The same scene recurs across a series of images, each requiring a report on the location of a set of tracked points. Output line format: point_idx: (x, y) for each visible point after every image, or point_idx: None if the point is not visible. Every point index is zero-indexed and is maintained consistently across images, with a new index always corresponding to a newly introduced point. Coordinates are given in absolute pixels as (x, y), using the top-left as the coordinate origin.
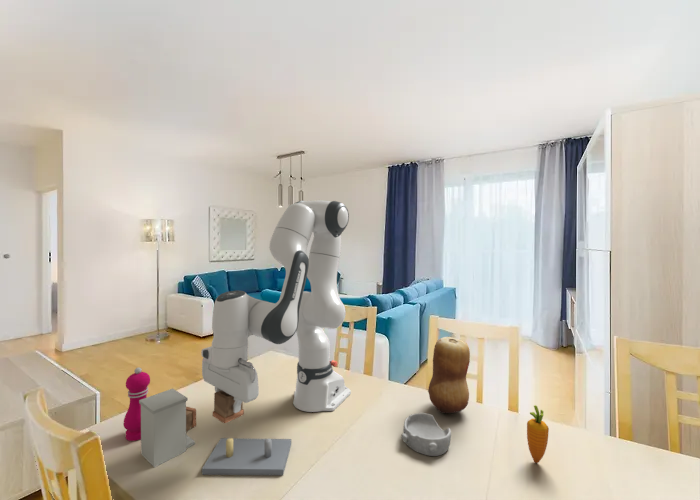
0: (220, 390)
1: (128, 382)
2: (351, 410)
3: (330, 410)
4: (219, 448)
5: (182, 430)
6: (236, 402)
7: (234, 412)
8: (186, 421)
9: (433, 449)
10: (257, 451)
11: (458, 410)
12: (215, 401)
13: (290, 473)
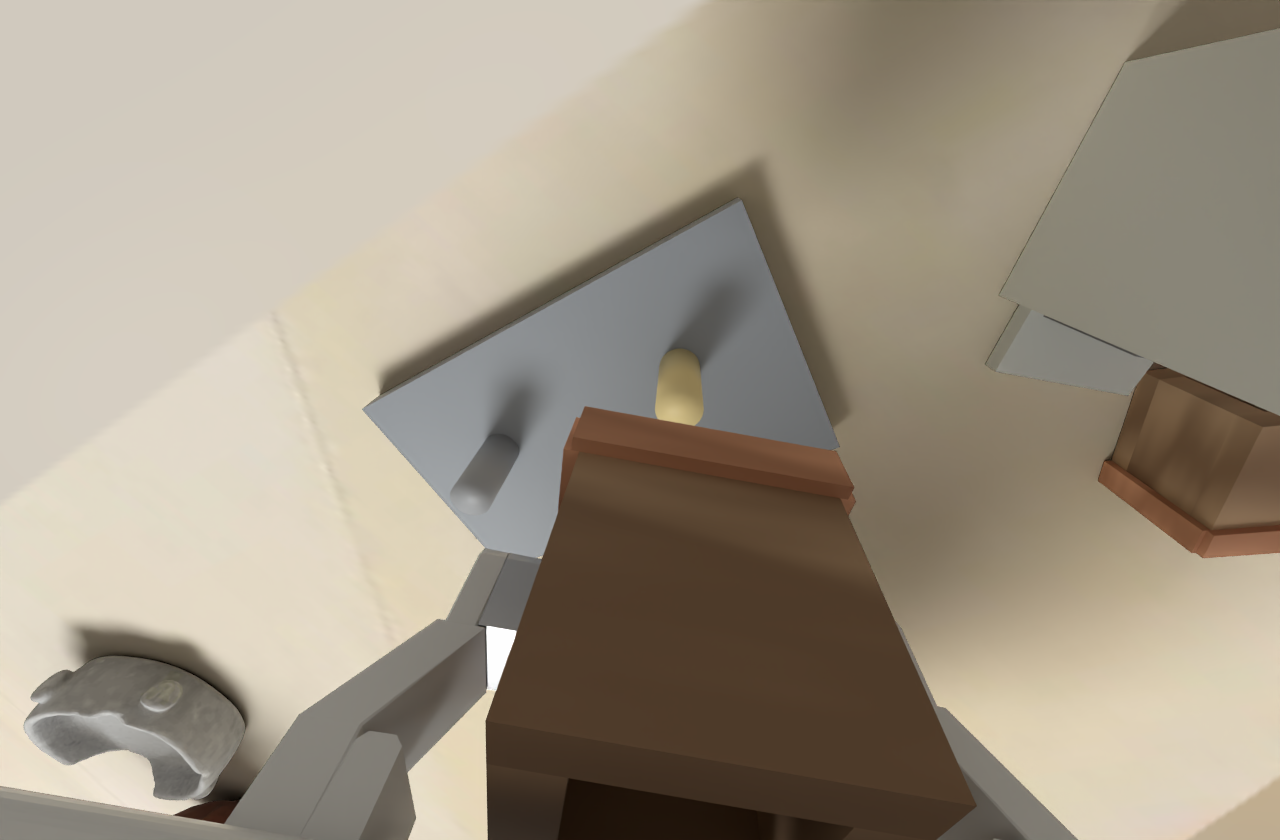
0: (957, 837)
1: None
2: (475, 749)
3: None
4: (779, 381)
5: (1139, 317)
6: (326, 696)
7: (491, 551)
8: (1189, 455)
9: (47, 680)
10: None
11: None
12: (855, 618)
13: (366, 418)
